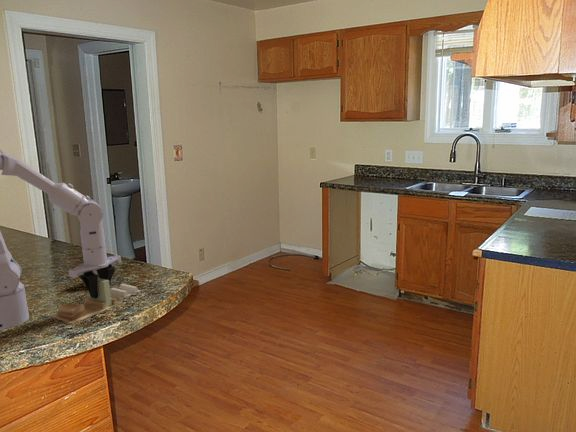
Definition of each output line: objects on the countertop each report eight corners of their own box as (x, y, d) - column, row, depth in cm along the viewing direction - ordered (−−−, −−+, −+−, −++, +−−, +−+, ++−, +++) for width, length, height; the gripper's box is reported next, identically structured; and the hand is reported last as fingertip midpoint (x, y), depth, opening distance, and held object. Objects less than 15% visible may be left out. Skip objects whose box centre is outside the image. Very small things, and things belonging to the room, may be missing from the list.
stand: (121, 302, 129) (120, 293, 129) (107, 298, 133) (106, 290, 132) (141, 293, 135) (140, 285, 135) (127, 290, 138) (126, 282, 138)
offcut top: (73, 315, 116) (72, 310, 116) (58, 312, 118) (58, 308, 118) (84, 309, 119) (83, 305, 119) (70, 307, 121) (69, 302, 121)
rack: (72, 327, 114) (71, 317, 114) (51, 320, 119) (49, 310, 119) (123, 305, 127) (122, 297, 126) (101, 299, 132) (100, 291, 131)
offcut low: (72, 320, 116) (71, 316, 116) (57, 316, 119) (57, 311, 119) (86, 314, 119) (86, 310, 119) (72, 310, 122) (71, 306, 122)
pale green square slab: (106, 307, 124) (103, 282, 122) (90, 302, 127) (87, 278, 126) (111, 305, 125) (108, 280, 123) (95, 300, 129) (92, 276, 127)
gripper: (78, 255, 115) (85, 307, 117) (126, 241, 127) (131, 289, 129) (61, 252, 118) (68, 302, 121) (109, 238, 130) (115, 285, 133)
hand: (99, 295), depth 126 cm, fingers open, 3 cm apart
